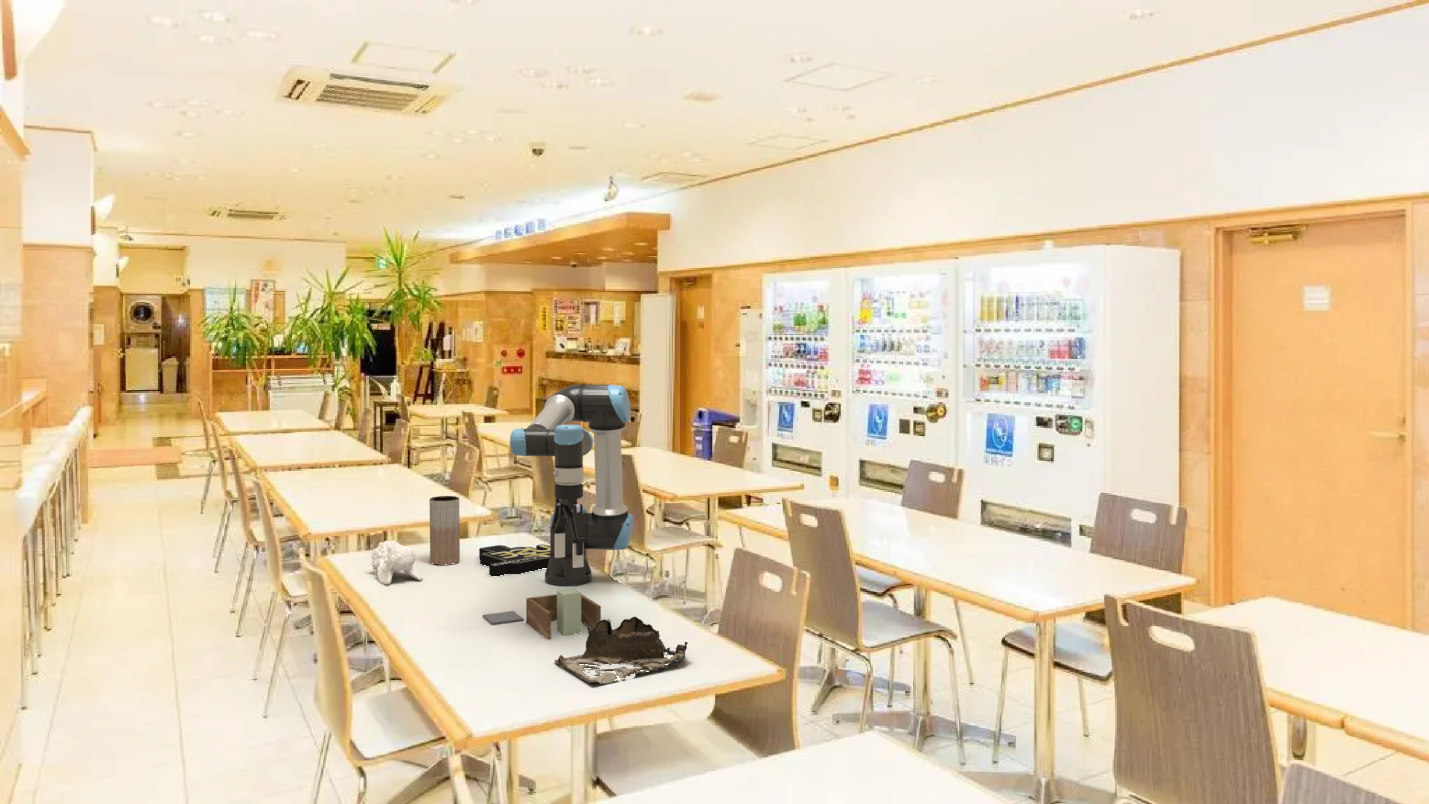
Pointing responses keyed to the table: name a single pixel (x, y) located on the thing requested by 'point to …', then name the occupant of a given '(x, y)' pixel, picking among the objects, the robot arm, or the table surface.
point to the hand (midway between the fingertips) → (568, 562)
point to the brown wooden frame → (545, 611)
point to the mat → (503, 617)
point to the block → (568, 611)
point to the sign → (514, 559)
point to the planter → (444, 530)
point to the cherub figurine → (393, 561)
